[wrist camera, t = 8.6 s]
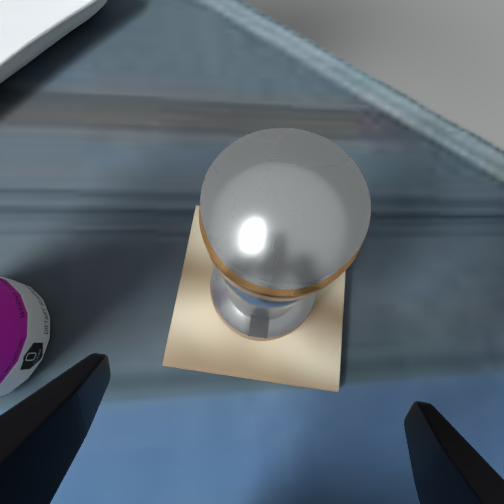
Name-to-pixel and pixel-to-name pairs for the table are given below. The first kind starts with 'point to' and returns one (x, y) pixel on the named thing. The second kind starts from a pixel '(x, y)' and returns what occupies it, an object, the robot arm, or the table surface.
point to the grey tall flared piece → (280, 226)
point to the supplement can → (20, 333)
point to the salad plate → (37, 28)
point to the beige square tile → (249, 348)
